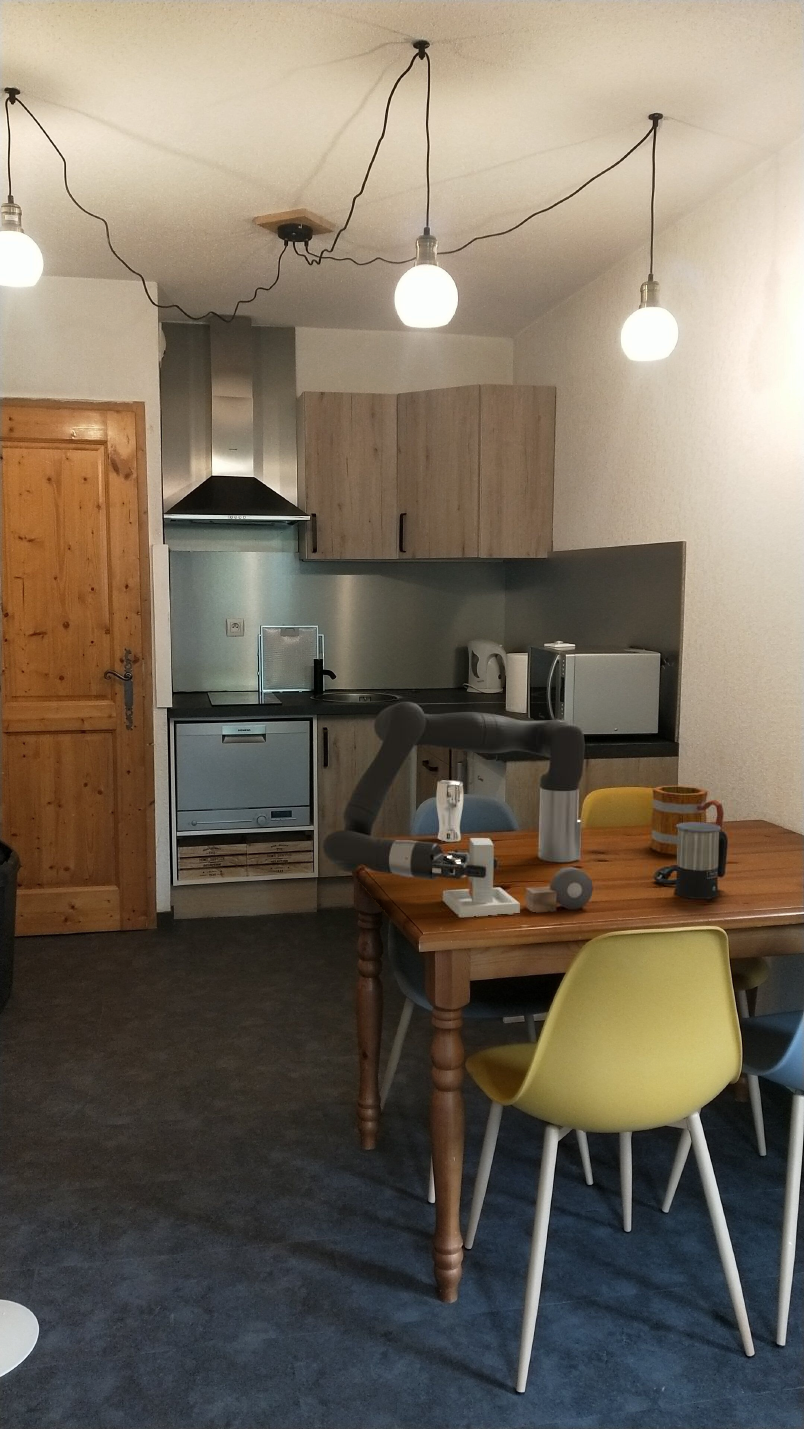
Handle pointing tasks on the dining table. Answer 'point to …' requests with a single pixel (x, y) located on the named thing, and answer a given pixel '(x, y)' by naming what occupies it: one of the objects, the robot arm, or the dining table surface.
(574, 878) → the trolley wheel
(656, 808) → the mug
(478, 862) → the skincare box
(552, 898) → the walnut block
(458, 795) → the beer glass
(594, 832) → the dining table surface
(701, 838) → the milk frother
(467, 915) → the tray
